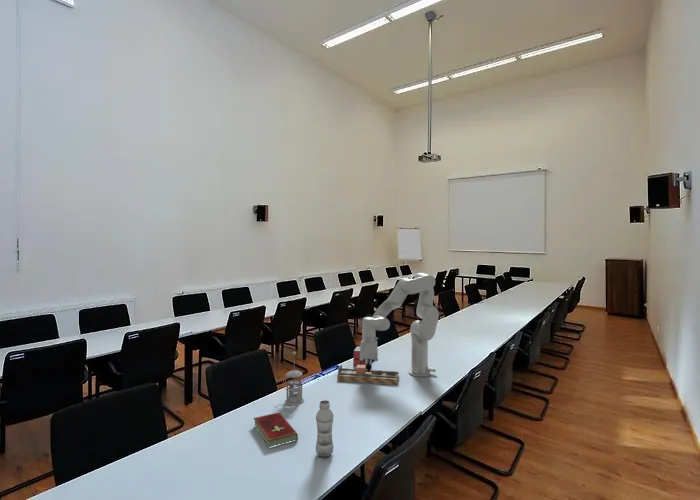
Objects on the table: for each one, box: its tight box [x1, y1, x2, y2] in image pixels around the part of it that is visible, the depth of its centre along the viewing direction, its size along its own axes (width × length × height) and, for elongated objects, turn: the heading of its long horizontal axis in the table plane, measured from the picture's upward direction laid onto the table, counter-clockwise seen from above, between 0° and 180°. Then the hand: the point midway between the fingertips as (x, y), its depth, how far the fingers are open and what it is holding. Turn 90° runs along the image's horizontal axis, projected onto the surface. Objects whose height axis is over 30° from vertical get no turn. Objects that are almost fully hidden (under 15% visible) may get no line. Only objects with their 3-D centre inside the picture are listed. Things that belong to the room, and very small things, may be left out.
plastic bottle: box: [315, 399, 335, 458], centre depth 144 cm, size 6×7×20 cm
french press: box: [282, 351, 305, 407], centre depth 191 cm, size 10×12×25 cm
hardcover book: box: [253, 411, 299, 448], centre depth 160 cm, size 12×21×4 cm, turn 30°
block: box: [355, 365, 367, 374], centre depth 221 cm, size 5×5×4 cm
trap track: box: [336, 364, 400, 386], centre depth 221 cm, size 34×12×6 cm, turn 80°
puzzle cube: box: [352, 346, 370, 368], centre depth 245 cm, size 10×10×10 cm
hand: (368, 370), depth 220 cm, fingers closed
